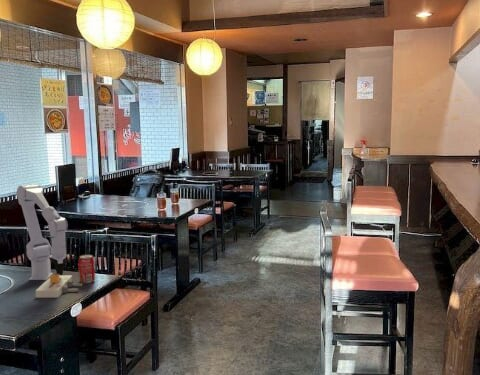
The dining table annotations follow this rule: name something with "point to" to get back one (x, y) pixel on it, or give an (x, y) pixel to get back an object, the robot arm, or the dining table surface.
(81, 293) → the dining table surface
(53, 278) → the knob
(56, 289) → the slider switch box
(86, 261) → the soda can
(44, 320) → the dining table surface
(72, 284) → the white peg legs
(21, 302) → the dining table surface
